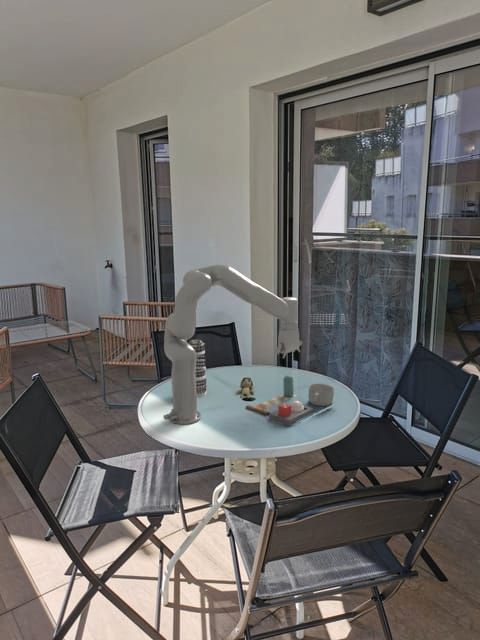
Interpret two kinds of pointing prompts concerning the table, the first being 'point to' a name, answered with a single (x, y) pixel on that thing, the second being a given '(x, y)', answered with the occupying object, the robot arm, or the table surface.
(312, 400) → the teacup
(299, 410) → the dome
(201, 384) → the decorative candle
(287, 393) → the green capsule
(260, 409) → the track board
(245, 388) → the figurine
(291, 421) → the base
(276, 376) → the table surface
